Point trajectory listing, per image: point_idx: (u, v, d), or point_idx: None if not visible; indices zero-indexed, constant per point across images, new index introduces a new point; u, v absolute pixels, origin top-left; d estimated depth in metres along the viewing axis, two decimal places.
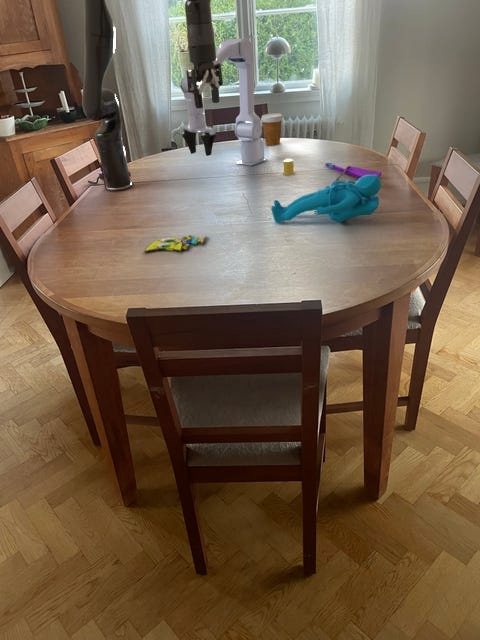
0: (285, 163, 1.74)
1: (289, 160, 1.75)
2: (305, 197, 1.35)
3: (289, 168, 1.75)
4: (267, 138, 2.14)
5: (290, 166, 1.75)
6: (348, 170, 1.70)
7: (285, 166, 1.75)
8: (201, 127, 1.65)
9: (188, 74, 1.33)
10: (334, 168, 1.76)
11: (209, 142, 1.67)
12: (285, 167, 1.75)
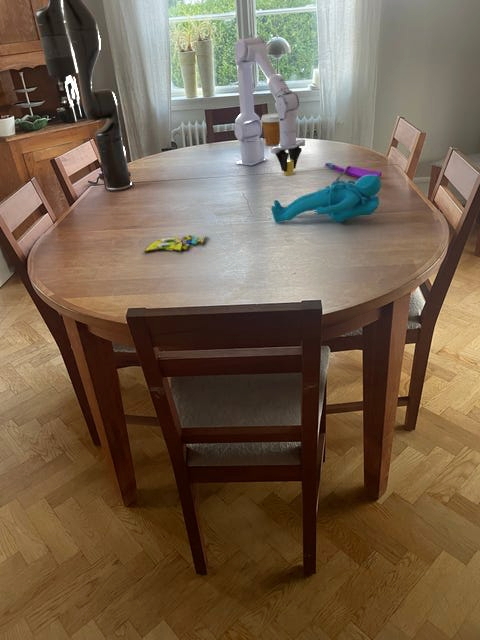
0: None
1: (289, 160, 1.75)
2: (305, 197, 1.35)
3: (289, 168, 1.75)
4: (267, 138, 2.14)
5: (290, 166, 1.75)
6: (348, 170, 1.70)
7: None
8: None
9: None
10: (334, 168, 1.76)
11: None
12: None
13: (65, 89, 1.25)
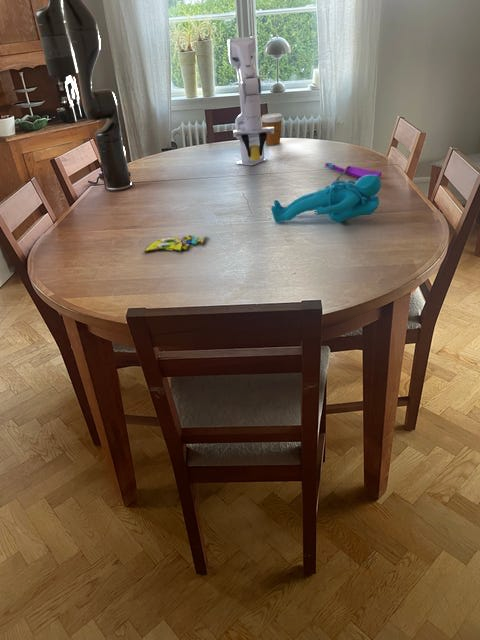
0: None
1: (255, 146, 1.73)
2: (305, 197, 1.35)
3: (252, 154, 1.74)
4: (267, 138, 2.14)
5: (253, 152, 1.73)
6: (348, 170, 1.70)
7: (250, 151, 1.74)
8: (261, 128, 1.70)
9: None
10: (334, 168, 1.76)
11: None
12: (250, 152, 1.75)
13: (65, 89, 1.25)
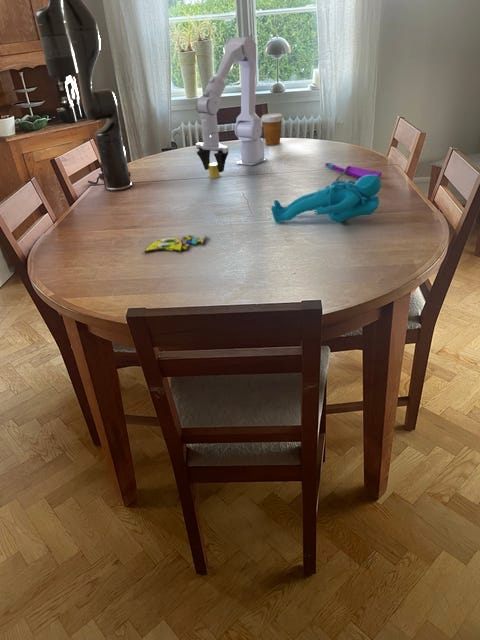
0: None
1: (213, 164, 1.78)
2: (305, 197, 1.35)
3: (209, 171, 1.80)
4: (267, 138, 2.14)
5: (209, 170, 1.79)
6: (348, 170, 1.70)
7: None
8: (215, 145, 1.73)
9: None
10: (334, 168, 1.76)
11: (222, 159, 1.76)
12: None
13: (65, 89, 1.25)
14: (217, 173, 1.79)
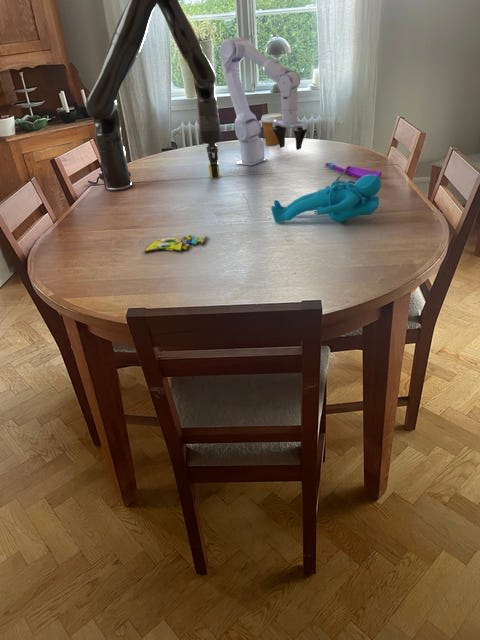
0: None
1: None
2: (305, 197, 1.35)
3: (209, 171, 1.80)
4: (267, 138, 2.14)
5: (209, 170, 1.79)
6: (348, 170, 1.70)
7: None
8: (294, 122, 1.73)
9: None
10: (334, 168, 1.76)
11: (300, 136, 1.76)
12: None
13: (216, 157, 1.72)
14: None
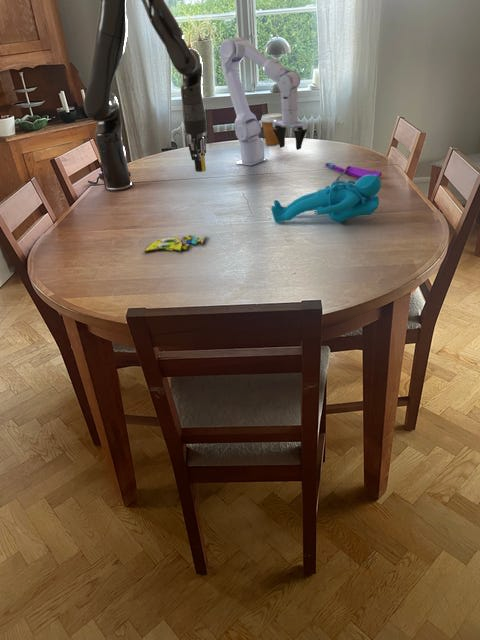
0: None
1: None
2: (305, 197, 1.35)
3: None
4: (267, 138, 2.14)
5: (194, 162, 1.68)
6: (348, 170, 1.70)
7: None
8: (294, 122, 1.73)
9: None
10: (334, 168, 1.76)
11: (300, 136, 1.76)
12: None
13: (195, 149, 1.60)
14: (202, 167, 1.68)
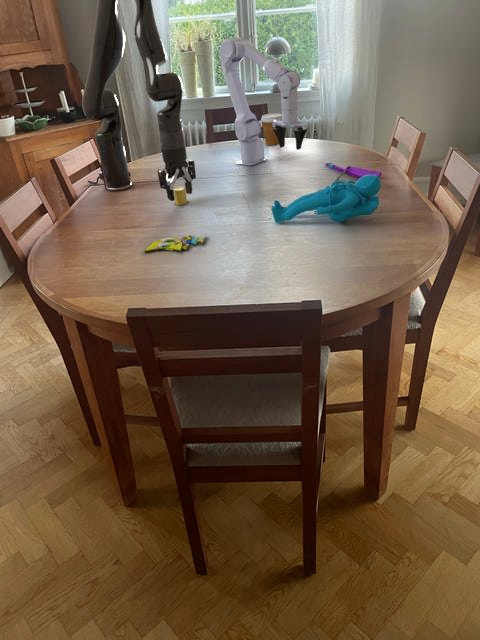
0: None
1: (178, 189, 1.56)
2: (305, 197, 1.35)
3: None
4: (267, 138, 2.14)
5: None
6: (348, 170, 1.70)
7: None
8: (294, 122, 1.73)
9: None
10: (334, 168, 1.76)
11: (300, 136, 1.76)
12: None
13: (162, 176, 1.49)
14: (179, 200, 1.57)
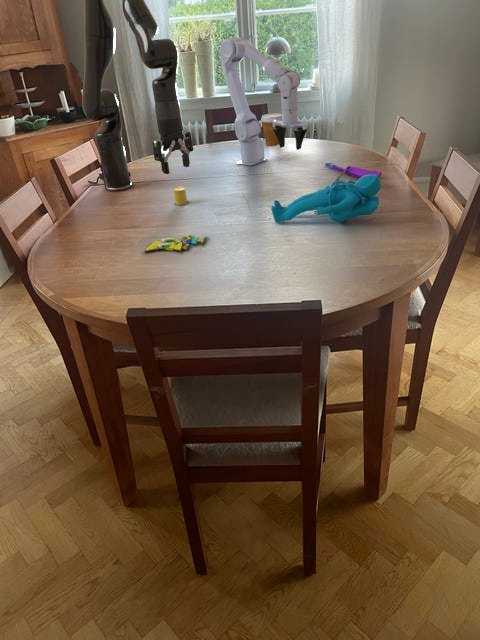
0: None
1: (178, 189, 1.56)
2: (305, 197, 1.35)
3: None
4: (267, 138, 2.14)
5: None
6: (348, 170, 1.70)
7: None
8: (294, 122, 1.73)
9: None
10: (334, 168, 1.76)
11: (300, 136, 1.76)
12: None
13: (157, 147, 1.44)
14: (179, 200, 1.57)
